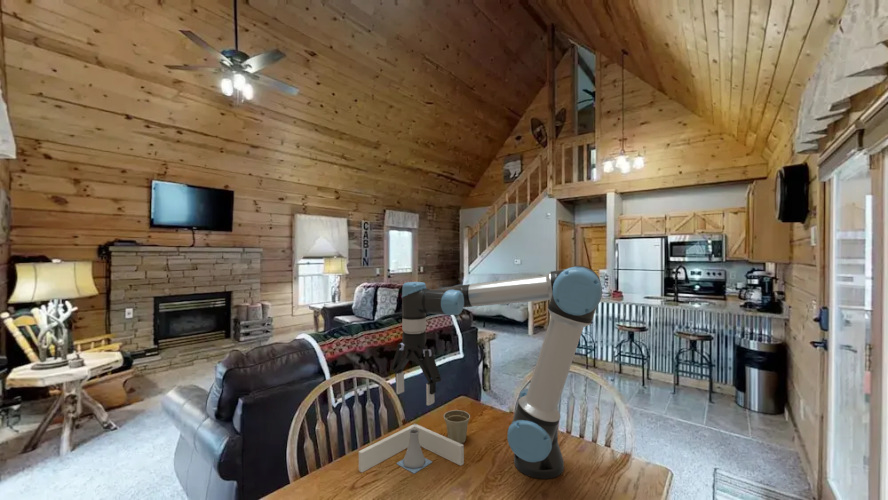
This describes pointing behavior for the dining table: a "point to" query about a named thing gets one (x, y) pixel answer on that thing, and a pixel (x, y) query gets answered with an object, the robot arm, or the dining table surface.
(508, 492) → the dining table surface
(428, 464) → the pad
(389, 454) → the corner wall
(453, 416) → the flower pot
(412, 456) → the flask
